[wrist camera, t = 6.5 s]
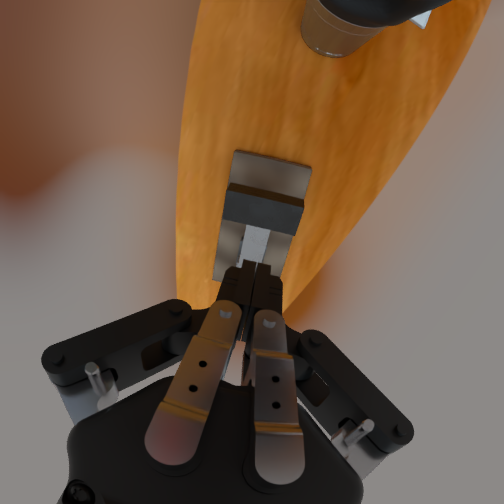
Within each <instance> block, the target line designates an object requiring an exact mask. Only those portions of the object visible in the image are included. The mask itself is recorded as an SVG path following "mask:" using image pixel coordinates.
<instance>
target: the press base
mask: <svg viewBox="0 0 504 504" xmlns="http://www.w3.org/2000/svg"><path fill="white" fill-rule="evenodd" d="M311 172H312V169H311V167H308V166H304V165H301V164H297V163H293V162H289V161H285V160H281V159H277V158H272V157H268V156H263V155H259V154H254V153H250V152H245V151H240V150H235V151H234V155H233V161H232V166H231V171H230V176H229V182H228V186H229V184H230V182H232V183H237V184H241V185H246V186H250V187H255V188H259V189H264V190H268V191H272V192H276V193H281V194H285V195H289V196H293V197H297V198H301V199H304V197H305V193H306V190H307V186H308V183H309V179H310V176H311ZM227 188H228V187H227ZM222 217H223V216H222ZM245 230H246V224H242V223H237V222H233V221H228V220H224V219H222V222H221V227H220V233H219V240H218V246H217V252H216V258H215V265H214V272H213V278H212V280H215V281H219V282H222V280H223V278H224V274H225V271H226V270H227V269H228V268H229V267H231V266H234V267H236V265H237V261H238V257H239V255H240V254H241V249H242V244H243V240H244V235H245ZM292 237H293V235H289V234H285V233H281V232H276V231H272V230H270V234H269V238H268V241H267V245H266V248H265V252H264V256H263V259H262V260H263V261H262V263H264V264H268V265H271V275H274V276H279V278H280V276H281V273H282V270H283V266H284V263H285V260H286V257H287V254H288V250H289V247H290V244H291V241H292Z"/></svg>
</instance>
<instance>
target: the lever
mask: <svg viewBox="0 0 504 504" xmlns="http://www.w3.org/2000/svg"><path fill="white" fill-rule="evenodd" d="M303 210H304V199H301V198H297V197H293V196H289V195H285V194H281V193H276V192H272V191H268V190H264V189H259V188H255V187H250V186H246V185H241V184H237V183H232V182H230V184H229V186H228V188H227V190H226V197H225V203H224V210H223V217H222V219H224V220H228V221H233V222H237V223H242V224H246V230H245V235H244V240H243V244H242V249H241V254H240V255H239V257H238V261H237V265H236V267H239V268H241V267H242V263H243V259H246V260H250V261H255V262H257V263H258V262H259V263H262V261H263V260H262V259H263V256H264V252H265V248H266V245H267V241H268V238H269V234H270V230H272V231H276V232H281V233H285V234H289V235H293V236H295V234H296V231H297V228H298V225H299V222H300V219H301V216H302V213H303ZM256 267H257V264H256ZM255 271H256V270H255Z"/></svg>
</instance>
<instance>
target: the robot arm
mask: <svg viewBox="0 0 504 504" xmlns="http://www.w3.org/2000/svg"><path fill="white" fill-rule="evenodd" d="M450 1H451V0H307V2H306V6H305V11H304V15H303V19H302V24H301V34H302V37H303V39H304V41H305V43H306V44H307V45H308V46H309V47H310V48H311V49H312V50H314V51H315V52H317V53H319V54H321V55H323V56H327V57H332V58H339V57H344V56H347V55H349V54H351V53H352V52H354V51H355V50H356V49H358V48H359V47H360V46H362V45H363V44H364V43H366V42H367V41H368V40H370V39H371V38H373V37H374V36H375V35H377V34H378V33H379V32H381V31H382V30H383V29H385V28H386V27H388V26H394V25H398V24H401V23H403V22H405V21H407V20H408V19H411V18H413V17H415V16H417V15H420V14H422V13H425V12H427V11H430V10H432V9H435V8H437V7H439V6H442V5H444V4H446V3H448V2H450ZM256 264H257V267H256ZM255 270H256V271H255ZM282 290H283V283H282V281H281V279H280V278H279V276H274V275H271V265H268V264H264V263H259V262H258V263H257V262H255V261H250V260H246V259H243V263H242V267H241V268H239V267H234V266H231V267H229V268H228V269H227V270H226V271H225V274H224V278H223V280H222V283H221V286H220V289H219V292H218V295H217V298H216V301H215V302H214V303H213V304H212V305H211V307H209V308H207V309H201V310H192V308H191V306H190V305H189V304H188V303H187V302H185V301H183V300H179V299H171V300H167V301H165V302H162V303H160V304H157V305H155V306H152V307H150V308H147V309H144V310H142V311H139V312H137V313H134V314H132V315H129V316H127V317H124V318H122V319H119V320H117V321H114V322H111V323H109V324H106V325H104V326H101V327H98V328H96V329H93V330H91V331H88V332H86V333H83V334H80V335H78V336H75V337H72V338H70V339H67V340H65V341H62V342H59V343H56V344H54V345H51V346H49V347H48V348H47V349H46V350H45V351H44V352H43V354H42V358H41V362H42V365H43V367H44V369H45V371H46V372H47V374H48V375H49V378H50V380H51V382H52V383H53V385H54V386H55V388H56V389H57V391H58V392H59V394H60V396H61V398H62V400H63V402H64V405H65V407H66V409H67V411H68V413H69V415H70V417H71V419H72V421H73V423H74V425H75V426H74V427H73V428H72V430H71V432H70V434H69V437H68V441H67V452H68V458H69V480H68V483H67V486H66V488H65V490H64V492H63V493H62V495H61V497H60V499H59V500H58V502H57V504H361V500H362V498H363V483H362V480H363V479H364V478H365V477H366V476H367V475H368V474H369V473H371V472H372V471H373V470H374V469H375V468H376V467H377V466H378V465H379V464H380V462H382V461H383V460H384V459H385V458H386V457H387V456H389V455H390V454H392V453H394V452H395V451H397V450H398V449H400V448H402V447H403V446H405V445H406V444H408V443H409V442H410V441H411V440H412V438H413V436H414V429H413V425H412V423H411V422H410V421H409V420H408V419H407V418H406V417H405V416H404V415H403V414H402V413H401V412H400V411H399V410H398V409H397V408H396V407H395V406H394V405H393V404H392V403H391V401H389V399H388V398H387V397H386V396H385V395H384V394H383V393H382V392H381V391H380V390H379V389H378V388H377V387H376V386H375V385H374V384H373V383H372V382H371V381H370V380H369V379H368V378H367V377H366V376H365V375H364V374H363V373H362V372H361V371H360V370H359V369H358V368H357V367H356V366H355V365H354V364H353V363H352V362H351V361H350V360H349V359H348V358H347V357H346V356H345V355H344V354H343V353H342V352H341V351H340V350H339V348H337V346H336V345H335V344H334V343H333V342H331V340H330V339H329V338H328V337H327V336H326V335H325V334H323V333H322V332H320V331H317V330H306V331H304V332H303V333H302V334H301V333H299V332H297V331H294V330H292V329H291V328H289V327H288V326H287V325H286V324H285V320H284V318H283V317H282V295H283V291H282ZM243 328H244V329H243ZM242 331H243V334H242ZM241 335H242V340H241V341H244V342H246V345H245V350H244V353H243V360H242V376H241V386H235V385H232V384H230V383H228V382H226V381H223V380H224V376H225V373H226V370H227V367H228V364H229V360H230V357H231V354H232V351H233V349H234V348H235V344H236V341H237V340H239V341H240V339H241ZM181 360H182V361H181ZM179 361H181V363H180V365H179V368H178V370H177V372H176V374H175V376H169V377H165V378H162V379H160V380H157V381H156V382H154V383H152V384H150V385H148V386H147V387H145V388H143V389H141V390H139V391H137V392H136V393H134V394H132V395H130V396H128V397H127V398H124V399H122V400H120V401H118V402H117V403H115V402H116V401H117V399H118V396H119V391H121V390H123V389H125V388H127V387H129V386H132V385H134V384H136V383H138V382H140V381H142V380H144V379H146V378H148V377H150V376H152V375H154V374H156V373H158V372H160V371H162V370H164V369H166V368H168V367H169V366H172V365H174V364H175V363H177V362H179ZM317 374H318V375H319V376H320V377H321V378H322V379H321V378H320V377H319V376H318V375H317ZM325 383H326V384H327V385H328V386H327V385H326V384H325ZM297 397H298V398H299V399H300V401H302V403H303V404H304V405H305V406H306V408H307V409H308V410H309V411H310V412H311V414H312V415H313V416H314V417H315V418H316V420H317V421H318V422H319V423H320V424H321V425H322V427H323V428H324V429H325V430H326V431H327V432H328V433H329V435H330V436H331V441H330V440H329V439H328V438H327V436H326V435H325V434H324V433H323V432H322V430H321V429H320V428H319V426H318V425H317V424H316V423H315V421H314V420H313V419H312V417H311V416H310V415H309V414H308V412H307V411H306V410H305V409H304V408H303V407H302V406H301V405H300V404H299V403H297ZM114 403H115V404H114Z"/></svg>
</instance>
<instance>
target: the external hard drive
mask: <svg viewBox="0 0 504 504" xmlns="http://www.w3.org/2000/svg"><path fill="white" fill-rule="evenodd" d="M430 13H431V10H430V11H427V12H425V13H422V14H420V15H417V16H415V17H413V18H411V19H408V20H410V21H411V22H413V23H414V24H416V25H417V26H418V27H420V28H421V29H424V28H425V26H426V23H427V21H428V18H429V16H430Z"/></svg>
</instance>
